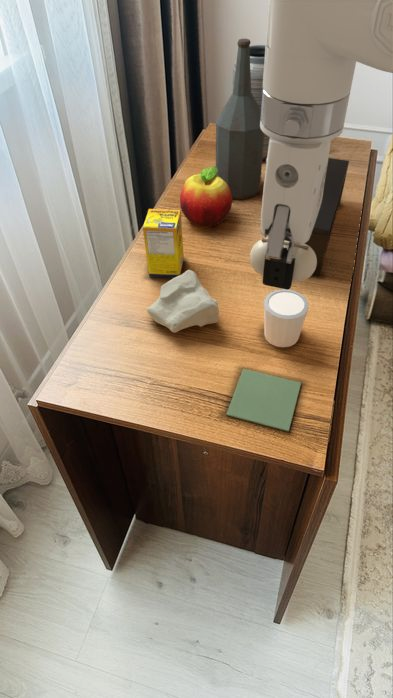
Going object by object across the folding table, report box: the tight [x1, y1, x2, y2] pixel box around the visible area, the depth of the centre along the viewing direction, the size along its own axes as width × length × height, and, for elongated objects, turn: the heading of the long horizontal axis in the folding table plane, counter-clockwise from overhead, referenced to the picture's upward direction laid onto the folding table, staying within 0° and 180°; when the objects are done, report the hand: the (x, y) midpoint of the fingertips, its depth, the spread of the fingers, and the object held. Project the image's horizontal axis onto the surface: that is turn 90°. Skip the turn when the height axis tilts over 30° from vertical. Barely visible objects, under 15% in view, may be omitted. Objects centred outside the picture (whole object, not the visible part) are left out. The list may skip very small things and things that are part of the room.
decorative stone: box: [146, 269, 220, 333], centre depth 83 cm, size 11×9×10 cm
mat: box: [226, 368, 302, 432], centre depth 73 cm, size 9×9×1 cm
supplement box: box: [142, 208, 185, 278], centre depth 90 cm, size 6×6×11 cm
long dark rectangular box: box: [304, 157, 350, 278], centre depth 97 cm, size 10×26×10 cm, turn 161°
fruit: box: [179, 165, 233, 228], centre depth 102 cm, size 11×11×10 cm
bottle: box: [215, 38, 264, 200], centre depth 103 cm, size 10×10×30 cm
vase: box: [231, 44, 270, 161], centre depth 117 cm, size 12×12×23 cm
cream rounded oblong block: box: [249, 237, 317, 283], centre depth 57 cm, size 8×4×4 cm, turn 71°
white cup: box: [263, 288, 310, 348], centre depth 79 cm, size 7×7×7 cm
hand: (281, 270), depth 58 cm, fingers closed on cream rounded oblong block, 4 cm apart
